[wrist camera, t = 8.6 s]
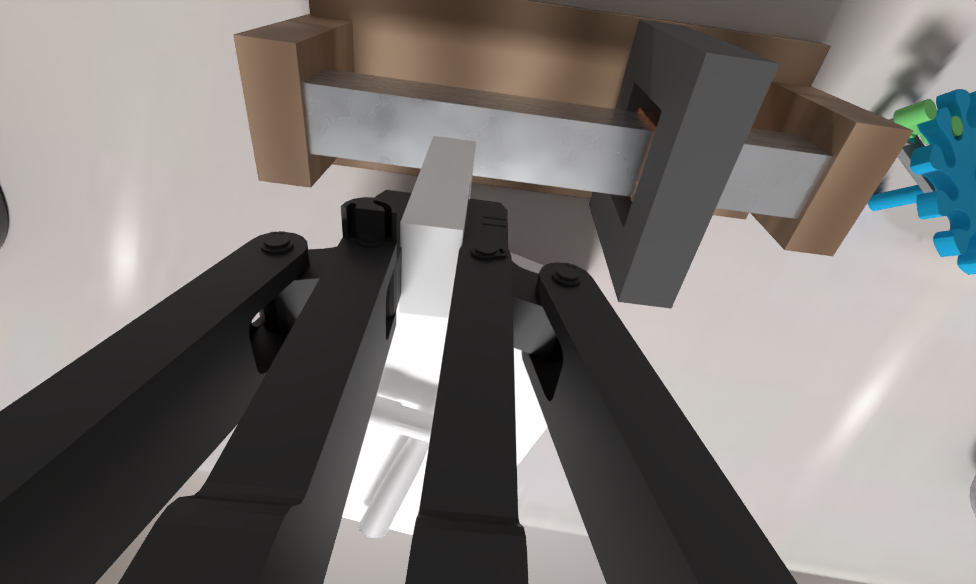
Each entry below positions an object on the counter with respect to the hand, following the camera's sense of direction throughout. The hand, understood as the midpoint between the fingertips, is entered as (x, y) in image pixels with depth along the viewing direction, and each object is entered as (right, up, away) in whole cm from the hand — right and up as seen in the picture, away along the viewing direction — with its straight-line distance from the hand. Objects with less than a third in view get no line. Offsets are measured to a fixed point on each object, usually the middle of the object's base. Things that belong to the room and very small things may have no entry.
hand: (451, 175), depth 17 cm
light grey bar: (+5, +4, +6) cm, 9 cm away
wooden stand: (+5, +7, +10) cm, 13 cm away
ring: (+9, +5, +9) cm, 14 cm away
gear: (+27, +4, +11) cm, 30 cm away
